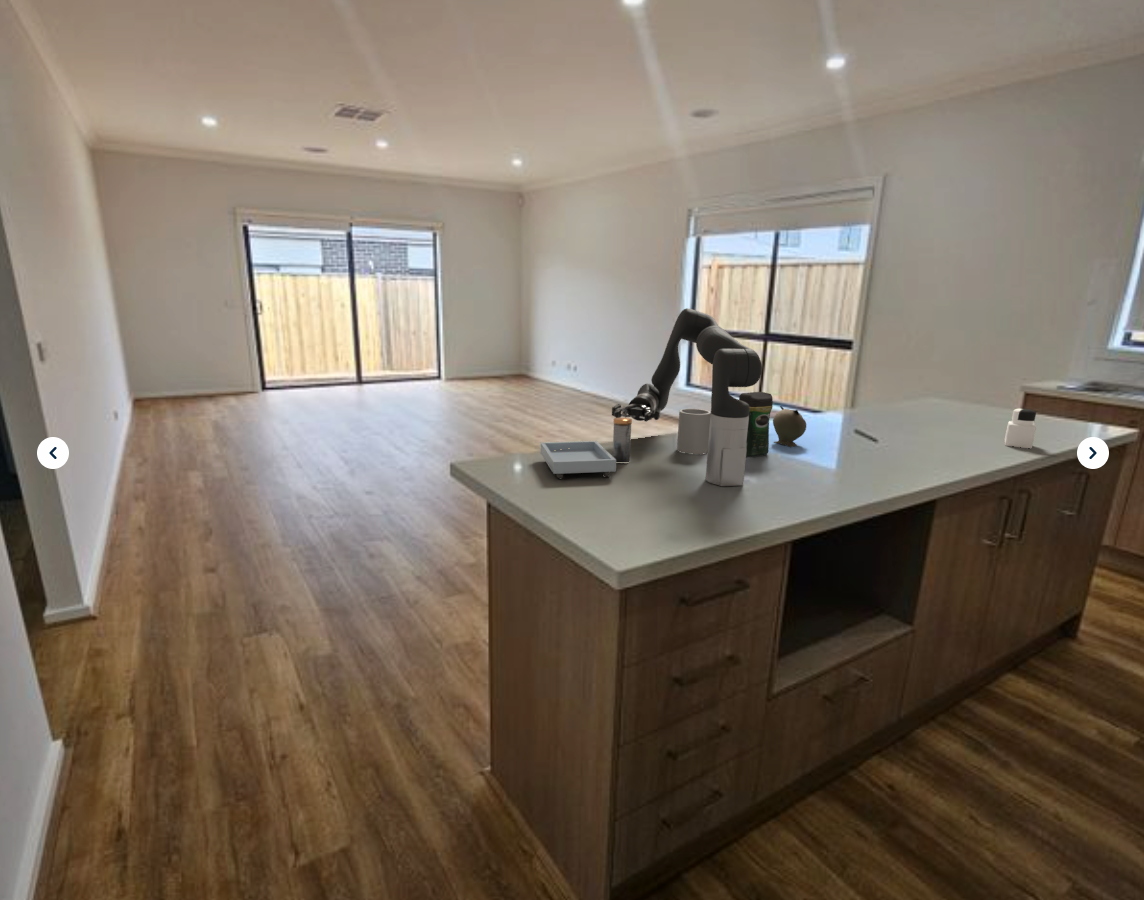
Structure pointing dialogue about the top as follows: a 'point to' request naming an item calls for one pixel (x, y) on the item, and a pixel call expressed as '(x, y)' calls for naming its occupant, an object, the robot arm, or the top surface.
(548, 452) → the dolly
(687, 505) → the top surface
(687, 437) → the cup
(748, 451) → the coffee jar
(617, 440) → the canister
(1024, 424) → the medicine bottle
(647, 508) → the top surface
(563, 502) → the top surface
